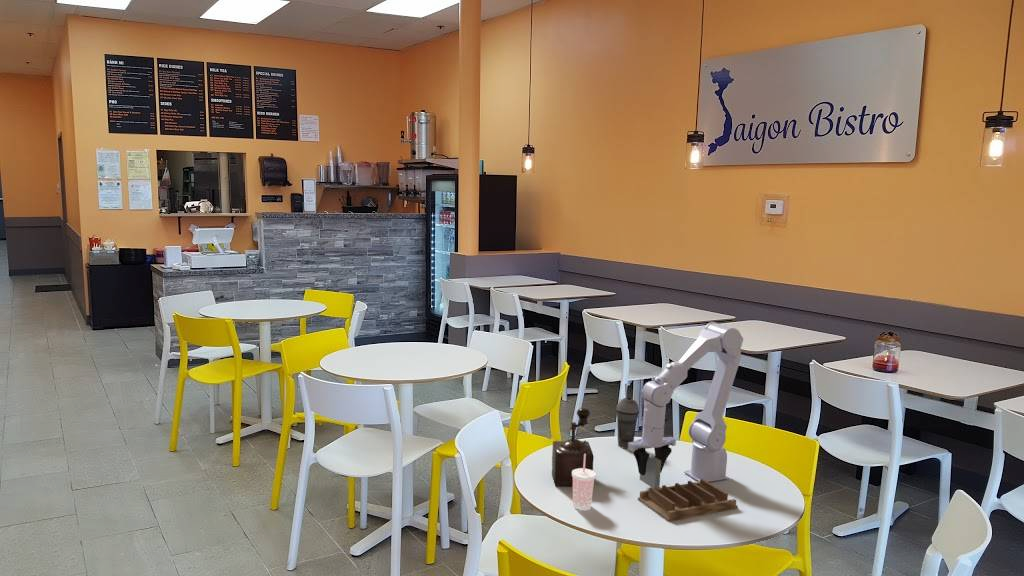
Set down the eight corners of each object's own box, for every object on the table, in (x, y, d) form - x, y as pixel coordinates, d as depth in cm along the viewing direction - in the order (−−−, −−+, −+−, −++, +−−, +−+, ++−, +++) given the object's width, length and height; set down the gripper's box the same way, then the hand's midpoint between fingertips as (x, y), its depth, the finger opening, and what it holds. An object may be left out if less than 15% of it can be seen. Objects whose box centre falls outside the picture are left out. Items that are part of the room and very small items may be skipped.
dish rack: (704, 487, 197) (705, 475, 196) (737, 508, 185) (738, 494, 185) (637, 499, 188) (638, 486, 187) (668, 521, 176) (669, 507, 176)
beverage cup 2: (631, 451, 222) (635, 389, 219) (609, 446, 225) (613, 384, 223) (640, 445, 228) (644, 384, 225) (619, 440, 232) (623, 380, 229)
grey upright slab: (644, 478, 202) (646, 451, 200) (659, 488, 195) (661, 460, 194) (639, 479, 201) (641, 452, 200) (654, 489, 195) (656, 461, 194)
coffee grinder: (595, 487, 194) (599, 424, 191) (554, 487, 193) (557, 423, 191) (586, 465, 209) (590, 406, 207) (548, 464, 209) (551, 405, 206)
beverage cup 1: (598, 506, 183) (601, 454, 181) (584, 514, 178) (588, 460, 176) (578, 499, 187) (581, 447, 185) (565, 506, 182) (567, 453, 180)
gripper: (666, 418, 202) (662, 464, 204) (623, 423, 196) (619, 470, 198) (682, 426, 196) (678, 473, 198) (637, 431, 190) (634, 480, 192)
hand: (650, 472), depth 198 cm, fingers open, 5 cm apart
